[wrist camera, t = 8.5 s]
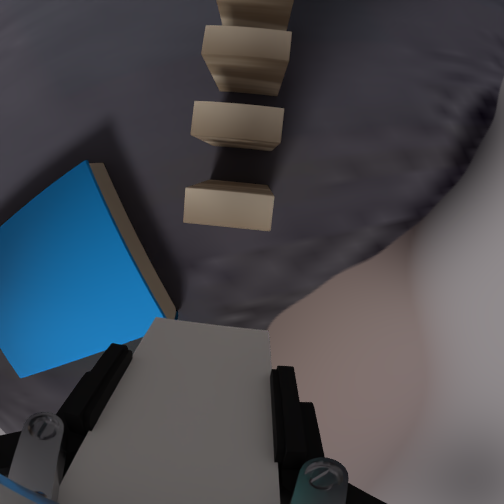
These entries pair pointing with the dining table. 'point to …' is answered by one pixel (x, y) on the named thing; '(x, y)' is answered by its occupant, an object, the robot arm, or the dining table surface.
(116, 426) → the end domino
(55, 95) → the dining table surface
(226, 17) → the domino
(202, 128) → the domino
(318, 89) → the dining table surface
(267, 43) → the domino
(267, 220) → the domino
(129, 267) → the book
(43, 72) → the dining table surface
